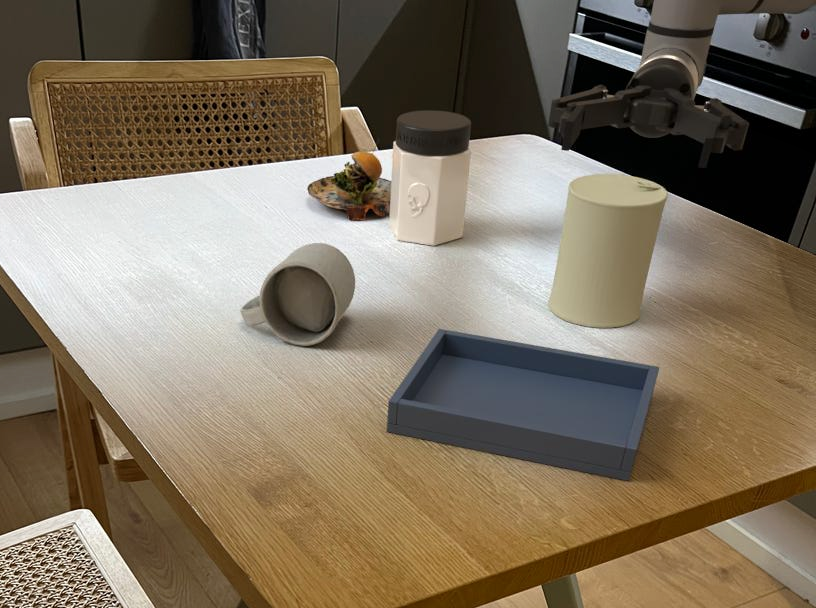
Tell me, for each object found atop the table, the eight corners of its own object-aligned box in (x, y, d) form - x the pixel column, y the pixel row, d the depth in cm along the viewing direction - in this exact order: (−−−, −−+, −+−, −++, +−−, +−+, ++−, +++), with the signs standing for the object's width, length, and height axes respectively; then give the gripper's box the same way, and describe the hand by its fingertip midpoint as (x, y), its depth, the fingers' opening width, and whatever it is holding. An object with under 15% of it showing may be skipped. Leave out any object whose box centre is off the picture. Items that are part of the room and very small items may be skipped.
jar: (377, 238, 111) (382, 124, 103) (399, 216, 117) (406, 106, 109) (452, 250, 109) (463, 134, 101) (471, 227, 115) (483, 115, 107)
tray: (652, 396, 84) (659, 366, 82) (628, 481, 74) (636, 449, 72) (436, 357, 89) (438, 328, 87) (386, 431, 79) (388, 400, 77)
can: (656, 324, 95) (688, 196, 87) (568, 331, 94) (593, 202, 86) (616, 287, 102) (642, 166, 94) (534, 293, 100) (553, 170, 92)
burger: (318, 185, 125) (318, 121, 120) (408, 193, 124) (412, 128, 119) (296, 216, 117) (296, 149, 112) (393, 224, 115) (397, 157, 110)
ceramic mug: (358, 315, 95) (360, 236, 90) (338, 351, 90) (338, 268, 84) (256, 305, 97) (252, 226, 92) (230, 339, 91) (223, 257, 86)
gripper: (763, 143, 110) (754, 201, 96) (547, 117, 116) (507, 168, 102) (785, 68, 105) (779, 117, 90) (558, 45, 111) (517, 88, 97)
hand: (635, 144), depth 96 cm, fingers open, 13 cm apart
